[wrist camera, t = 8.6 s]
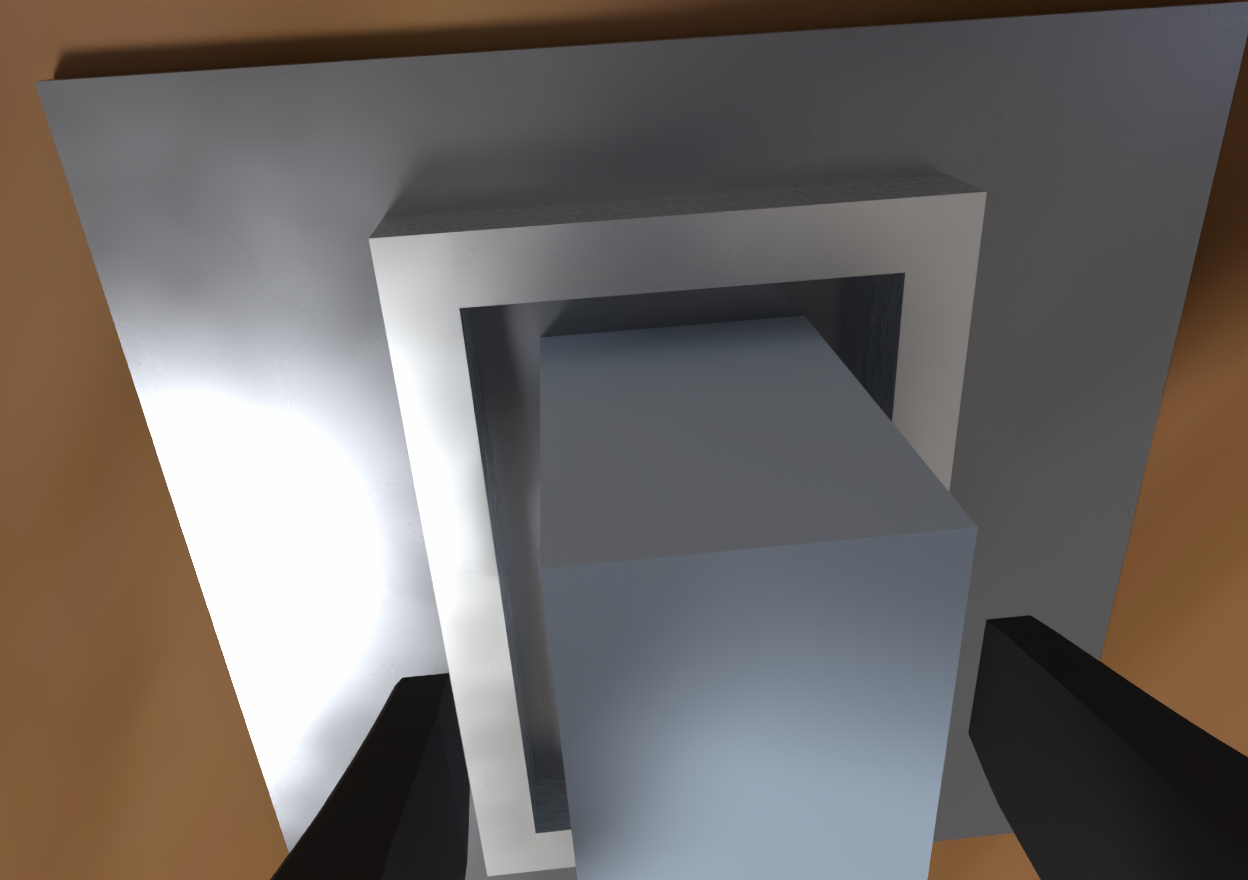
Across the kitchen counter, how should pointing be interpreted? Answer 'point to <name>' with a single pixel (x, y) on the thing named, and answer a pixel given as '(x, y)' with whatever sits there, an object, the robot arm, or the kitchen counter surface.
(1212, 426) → the kitchen counter surface
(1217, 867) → the robot arm
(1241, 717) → the kitchen counter surface
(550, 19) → the kitchen counter surface
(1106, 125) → the pocket plate
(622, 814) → the light blue block
